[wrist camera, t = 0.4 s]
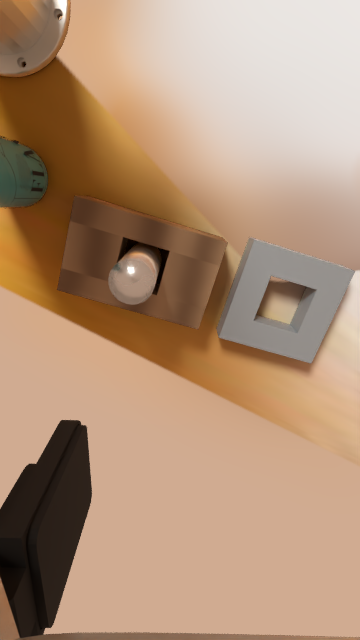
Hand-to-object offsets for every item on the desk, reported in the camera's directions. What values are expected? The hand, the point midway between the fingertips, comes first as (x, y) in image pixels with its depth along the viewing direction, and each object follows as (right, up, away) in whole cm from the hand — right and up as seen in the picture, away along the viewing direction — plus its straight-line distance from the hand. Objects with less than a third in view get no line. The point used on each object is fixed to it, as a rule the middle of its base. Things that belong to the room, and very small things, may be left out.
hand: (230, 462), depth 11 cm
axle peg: (-6, +12, +30) cm, 33 cm away
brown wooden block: (-6, +12, +30) cm, 33 cm away
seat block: (+10, +7, +32) cm, 34 cm away
